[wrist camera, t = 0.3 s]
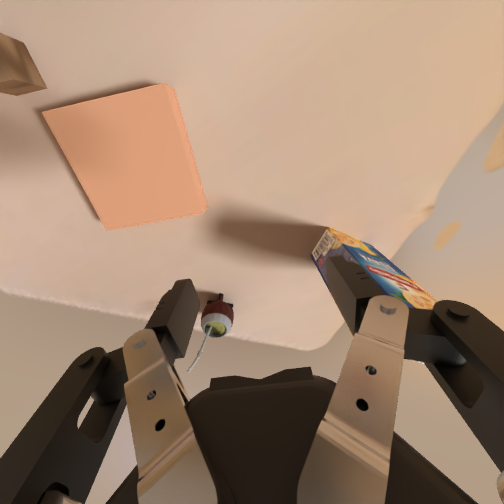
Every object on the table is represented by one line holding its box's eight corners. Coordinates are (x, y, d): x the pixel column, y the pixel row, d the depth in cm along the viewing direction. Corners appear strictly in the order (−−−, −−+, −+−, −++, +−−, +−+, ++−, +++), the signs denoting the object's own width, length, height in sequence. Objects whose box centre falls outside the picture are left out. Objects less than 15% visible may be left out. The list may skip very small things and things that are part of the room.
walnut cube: (-8, 51, 29) (-55, 35, 24) (24, 43, 28) (-17, 25, 24) (17, 95, 31) (-21, 87, 27) (47, 88, 31) (13, 79, 26)
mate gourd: (236, 294, 49) (231, 350, 36) (232, 318, 53) (226, 377, 39) (205, 290, 48) (187, 345, 35) (202, 314, 52) (186, 373, 39)
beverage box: (352, 271, 46) (427, 365, 27) (309, 254, 44) (356, 343, 25) (372, 245, 43) (471, 330, 24) (327, 226, 41) (395, 302, 22)
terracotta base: (64, 115, 32) (41, 111, 29) (174, 89, 31) (164, 82, 27) (119, 223, 40) (106, 230, 37) (207, 206, 39) (203, 213, 36)
